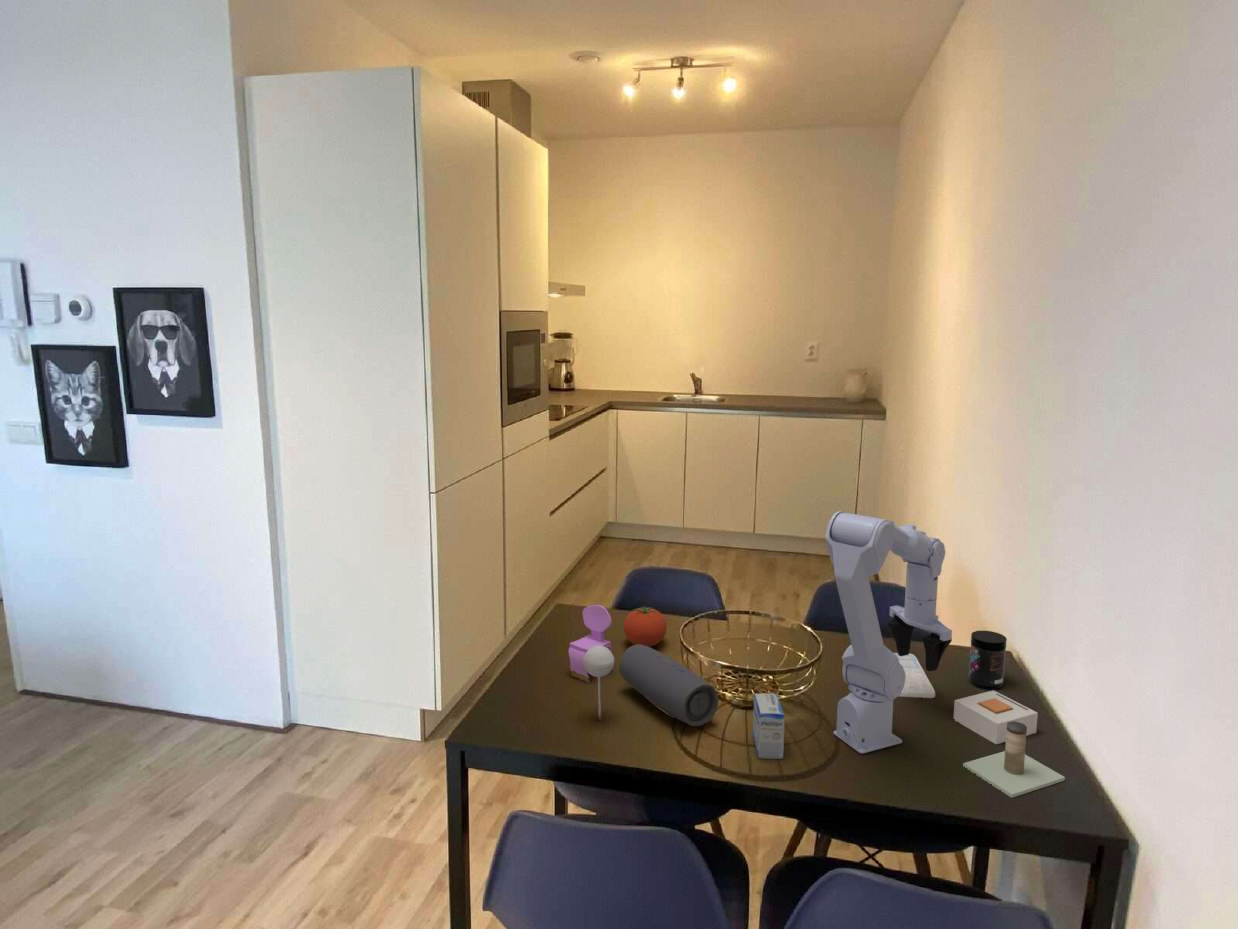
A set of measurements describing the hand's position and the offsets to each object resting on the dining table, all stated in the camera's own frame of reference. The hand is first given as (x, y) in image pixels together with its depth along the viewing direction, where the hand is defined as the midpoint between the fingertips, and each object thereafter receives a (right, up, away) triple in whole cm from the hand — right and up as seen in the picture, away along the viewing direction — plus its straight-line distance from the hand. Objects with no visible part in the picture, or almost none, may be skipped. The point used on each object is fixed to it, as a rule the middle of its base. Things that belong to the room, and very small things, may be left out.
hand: (917, 662), depth 156 cm
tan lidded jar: (+8, -13, -22) cm, 27 cm away
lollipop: (-62, -11, -2) cm, 63 cm away
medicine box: (-32, -13, -12) cm, 36 cm away
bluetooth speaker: (-49, -10, +3) cm, 50 cm away
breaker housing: (+12, -11, -6) cm, 17 cm away
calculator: (+1, -8, +16) cm, 18 cm away
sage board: (+8, -13, -22) cm, 27 cm away
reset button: (+12, -9, -7) cm, 16 cm away
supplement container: (+19, -8, +11) cm, 23 cm away
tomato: (-52, -5, +34) cm, 62 cm away
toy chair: (-65, -7, +19) cm, 68 cm away
